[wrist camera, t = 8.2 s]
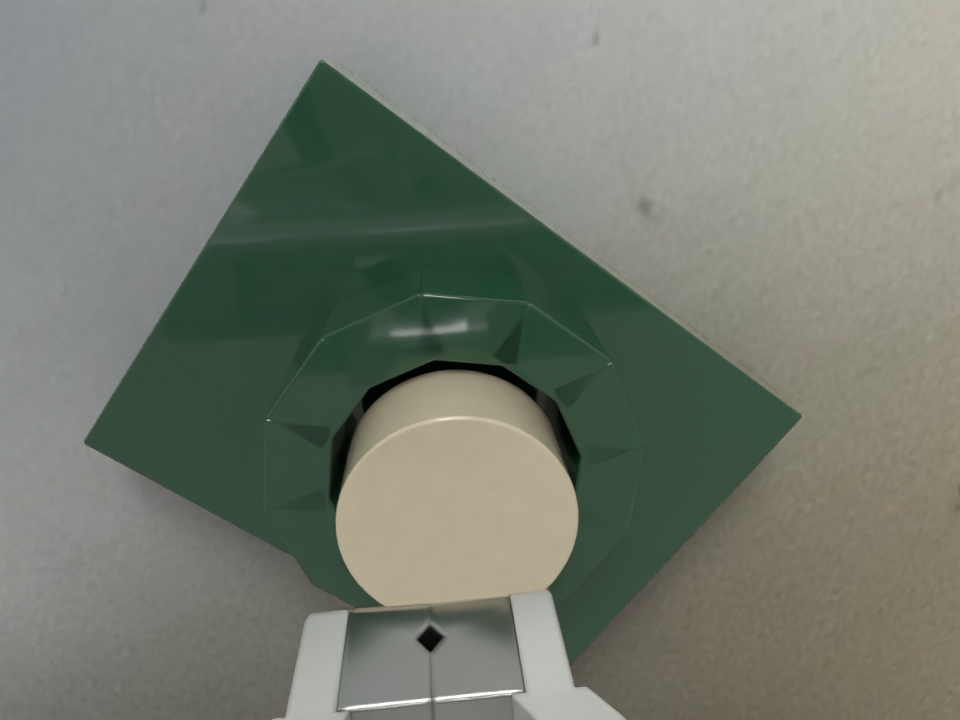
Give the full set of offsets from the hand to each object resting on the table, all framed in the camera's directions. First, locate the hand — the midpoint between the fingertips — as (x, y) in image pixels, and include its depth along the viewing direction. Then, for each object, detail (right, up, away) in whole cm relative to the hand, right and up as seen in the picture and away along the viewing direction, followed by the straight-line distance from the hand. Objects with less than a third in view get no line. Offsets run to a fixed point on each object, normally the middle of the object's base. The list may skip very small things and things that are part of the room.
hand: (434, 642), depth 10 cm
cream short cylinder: (0, +2, +5) cm, 5 cm away
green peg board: (0, +3, +8) cm, 9 cm away
